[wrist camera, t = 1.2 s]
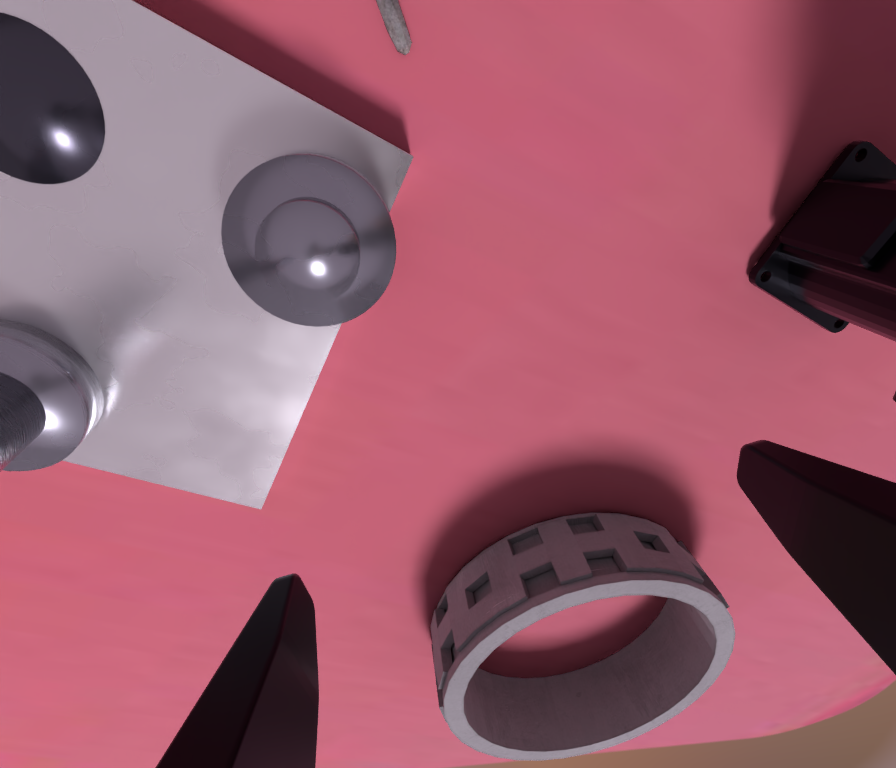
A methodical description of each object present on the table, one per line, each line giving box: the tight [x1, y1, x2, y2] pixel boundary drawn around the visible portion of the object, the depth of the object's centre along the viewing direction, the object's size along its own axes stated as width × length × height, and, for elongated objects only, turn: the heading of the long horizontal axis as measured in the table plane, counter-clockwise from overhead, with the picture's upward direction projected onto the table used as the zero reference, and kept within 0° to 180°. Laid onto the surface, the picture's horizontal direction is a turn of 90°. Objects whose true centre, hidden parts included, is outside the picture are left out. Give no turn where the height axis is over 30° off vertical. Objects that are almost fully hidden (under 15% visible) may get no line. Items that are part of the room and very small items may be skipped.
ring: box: [430, 513, 735, 760], centre depth 30 cm, size 18×18×5 cm
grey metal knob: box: [221, 152, 396, 327], centre depth 16 cm, size 6×6×2 cm
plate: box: [0, 0, 413, 509], centre depth 18 cm, size 14×17×1 cm
